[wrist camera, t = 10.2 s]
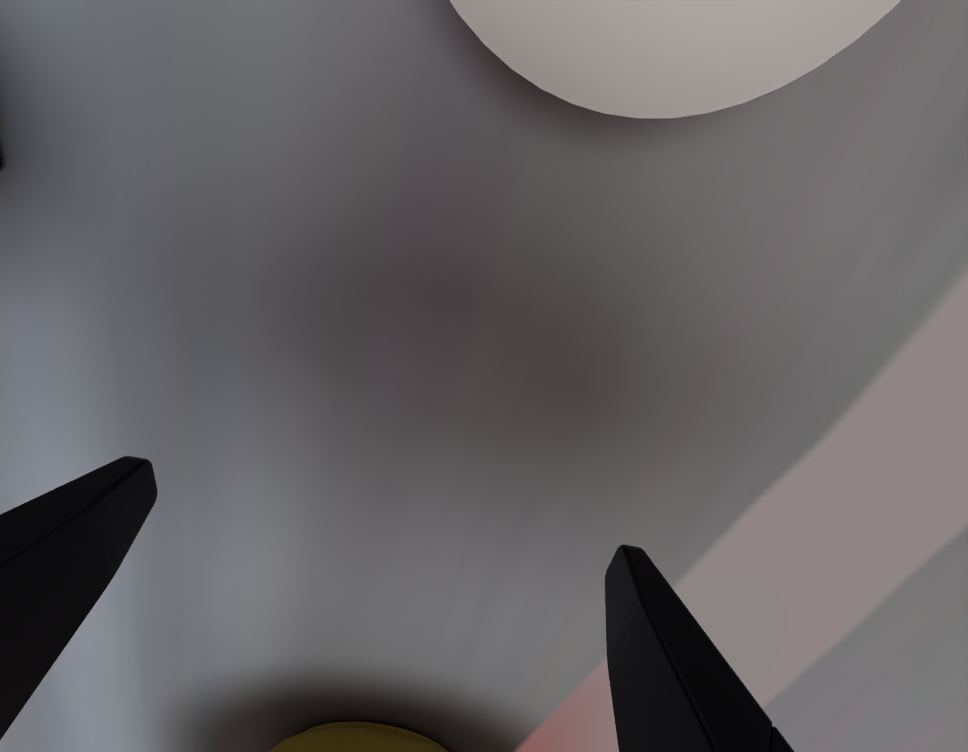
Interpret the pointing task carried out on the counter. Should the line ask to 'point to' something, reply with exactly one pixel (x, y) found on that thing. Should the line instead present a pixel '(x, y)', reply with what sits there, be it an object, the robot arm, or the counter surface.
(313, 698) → the counter surface
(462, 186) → the counter surface
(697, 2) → the lid
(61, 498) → the robot arm
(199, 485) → the counter surface
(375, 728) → the planter bowl
